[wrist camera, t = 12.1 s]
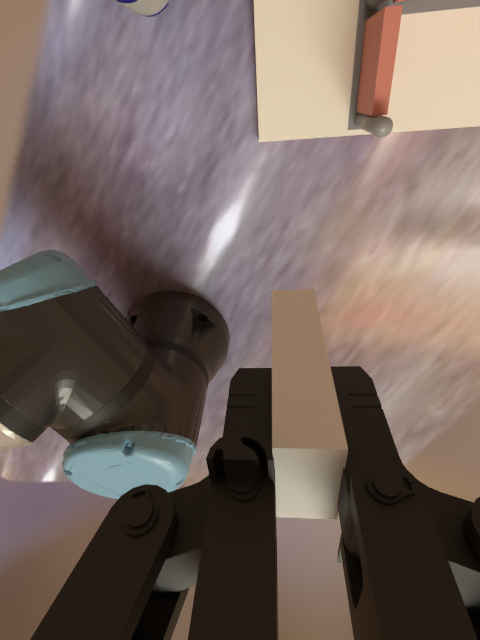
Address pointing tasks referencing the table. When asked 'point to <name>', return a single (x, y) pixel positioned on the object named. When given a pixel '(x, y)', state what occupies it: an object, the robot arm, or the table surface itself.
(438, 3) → the cream base board
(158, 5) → the beverage can
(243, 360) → the table surface
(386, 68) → the fixed panel
